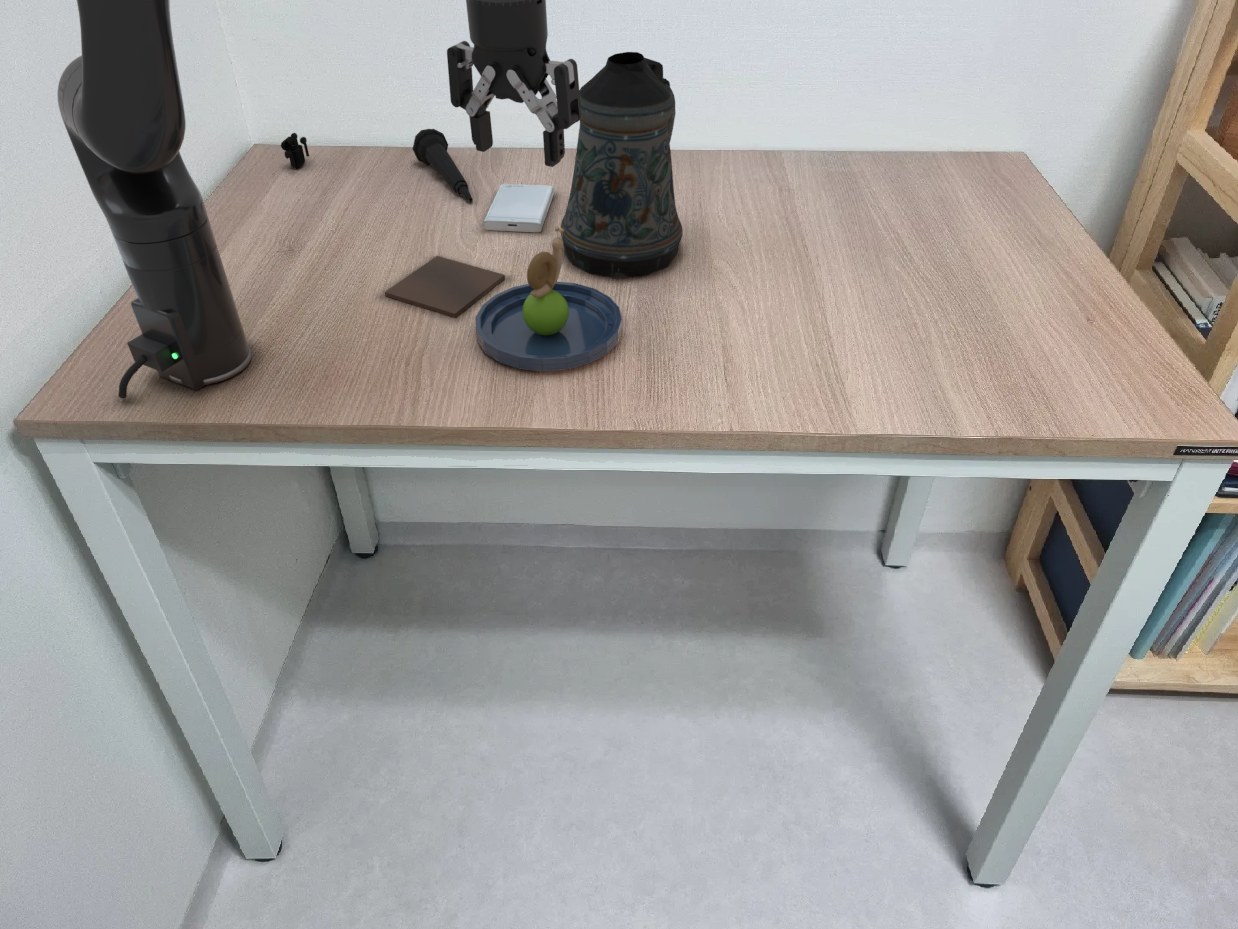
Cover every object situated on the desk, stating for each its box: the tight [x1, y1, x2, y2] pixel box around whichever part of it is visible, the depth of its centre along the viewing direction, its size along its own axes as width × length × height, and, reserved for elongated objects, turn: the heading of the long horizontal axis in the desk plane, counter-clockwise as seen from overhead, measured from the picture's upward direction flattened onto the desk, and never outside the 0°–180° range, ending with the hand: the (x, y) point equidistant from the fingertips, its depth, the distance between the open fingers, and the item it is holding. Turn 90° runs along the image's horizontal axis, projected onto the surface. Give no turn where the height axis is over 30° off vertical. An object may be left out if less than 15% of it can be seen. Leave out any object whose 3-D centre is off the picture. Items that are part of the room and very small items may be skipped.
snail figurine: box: [523, 226, 569, 335], centre depth 106 cm, size 5×6×12 cm
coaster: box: [384, 255, 506, 318], centre depth 118 cm, size 11×11×1 cm
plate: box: [474, 280, 623, 372], centre depth 109 cm, size 17×17×2 cm
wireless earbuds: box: [280, 132, 310, 170], centre depth 146 cm, size 7×2×5 cm, turn 169°
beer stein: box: [560, 51, 683, 280], centre depth 119 cm, size 16×19×25 cm
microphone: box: [412, 128, 474, 203], centre depth 142 cm, size 6×6×20 cm
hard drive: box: [483, 183, 555, 233], centre depth 134 cm, size 2×8×12 cm
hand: (518, 156), depth 97 cm, fingers open, 8 cm apart
